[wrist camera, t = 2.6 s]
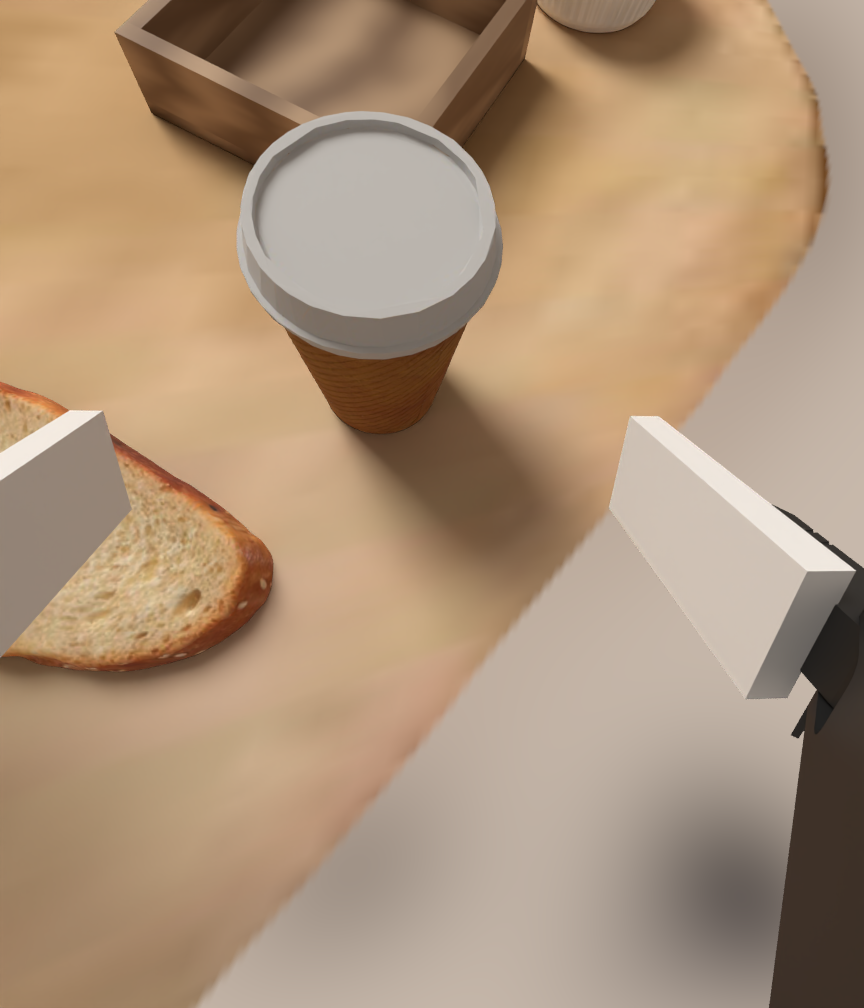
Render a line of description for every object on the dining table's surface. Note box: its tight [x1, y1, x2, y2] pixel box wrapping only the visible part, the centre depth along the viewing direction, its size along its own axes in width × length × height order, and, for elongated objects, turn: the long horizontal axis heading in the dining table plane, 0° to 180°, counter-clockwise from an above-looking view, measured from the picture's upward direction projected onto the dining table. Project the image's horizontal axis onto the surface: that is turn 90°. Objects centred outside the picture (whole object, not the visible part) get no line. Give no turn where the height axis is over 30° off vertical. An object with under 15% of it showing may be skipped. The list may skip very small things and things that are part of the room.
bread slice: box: [0, 382, 273, 672], centre depth 24 cm, size 18×18×4 cm
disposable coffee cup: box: [237, 111, 503, 434], centre depth 23 cm, size 10×10×12 cm
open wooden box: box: [115, 0, 537, 165], centre depth 32 cm, size 18×18×4 cm
